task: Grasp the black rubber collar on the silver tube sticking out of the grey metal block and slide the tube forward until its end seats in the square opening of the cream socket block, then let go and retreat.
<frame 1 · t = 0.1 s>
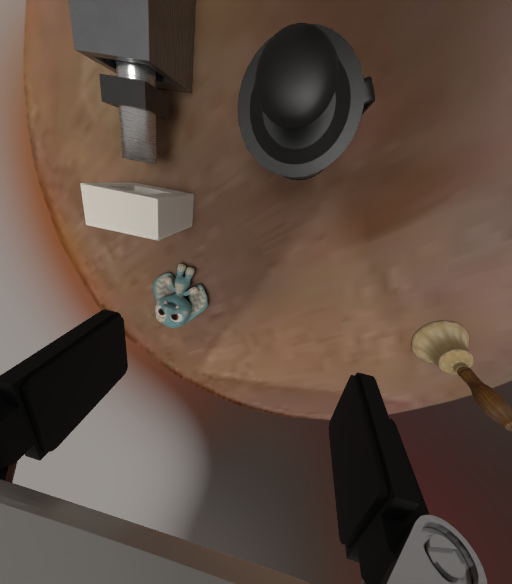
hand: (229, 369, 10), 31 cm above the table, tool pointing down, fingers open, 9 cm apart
stuffed animal: (184, 291, 46), on the table
grey metal block: (163, 44, 31), on the table
socket: (163, 204, 40), on the table
hand bell: (438, 341, 41), on the table
french press: (304, 139, 33), on the table
rod: (136, 65, 27), point 6 cm above the table, slide at 0.0 cm
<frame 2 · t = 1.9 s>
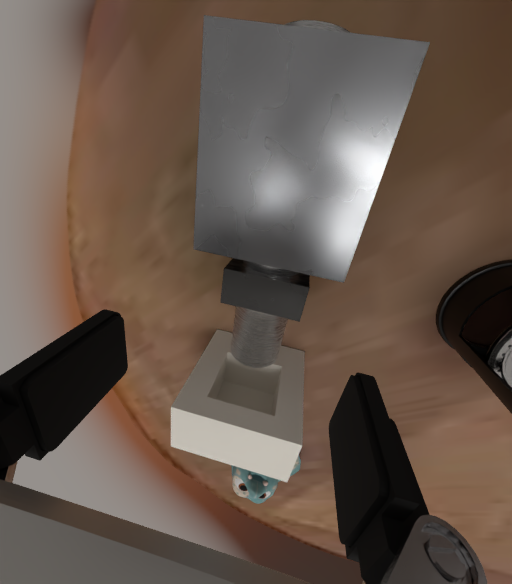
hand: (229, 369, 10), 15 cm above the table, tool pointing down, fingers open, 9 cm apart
stuffed animal: (265, 440, 35), on the table
grey metal block: (295, 171, 20), on the table
socket: (256, 357, 28), on the table
french press: (504, 308, 21), on the table
rod: (277, 238, 16), point 6 cm above the table, slide at 0.0 cm
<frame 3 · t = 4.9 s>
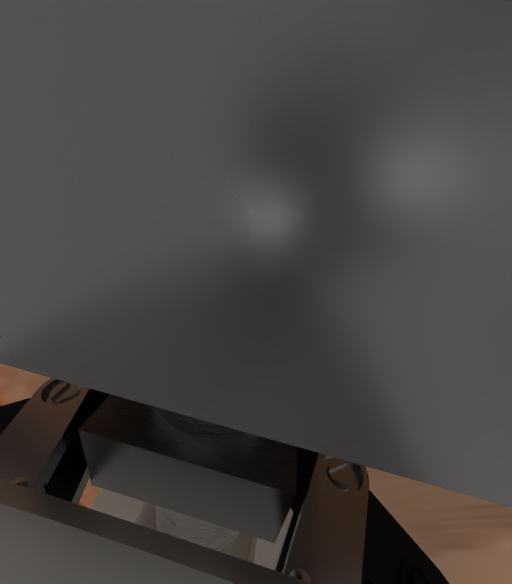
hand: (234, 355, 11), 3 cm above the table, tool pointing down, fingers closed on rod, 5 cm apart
grey metal block: (285, 118, 10), on the table
socket: (229, 431, 18), on the table
rod: (224, 331, 7), point 6 cm above the table, slide at 2.3 cm, touching gripper
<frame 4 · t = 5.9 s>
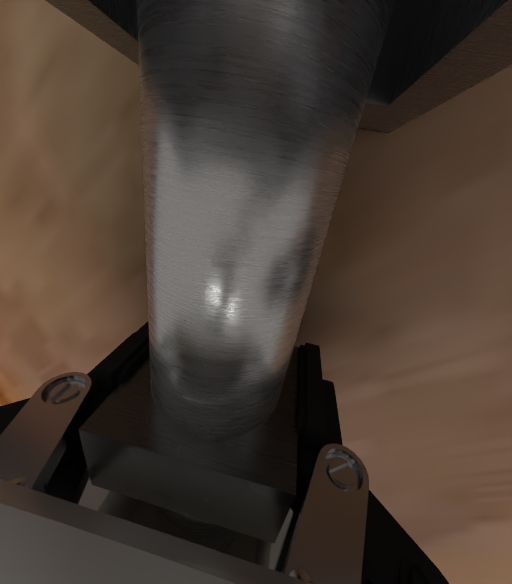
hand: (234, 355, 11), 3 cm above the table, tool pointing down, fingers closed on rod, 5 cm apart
socket: (237, 387, 16), on the table
rod: (224, 332, 7), point 6 cm above the table, slide at 6.9 cm, touching gripper
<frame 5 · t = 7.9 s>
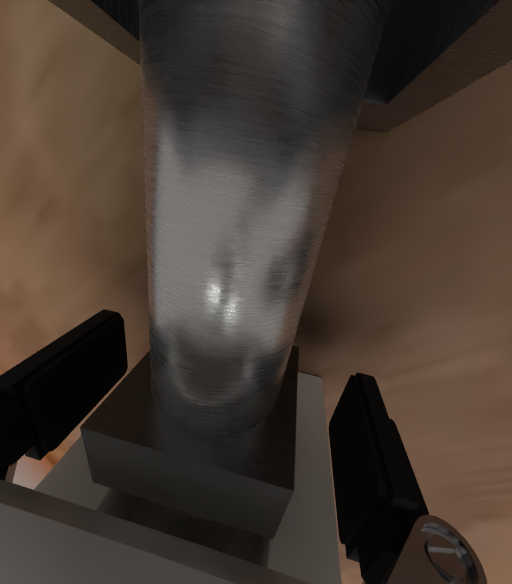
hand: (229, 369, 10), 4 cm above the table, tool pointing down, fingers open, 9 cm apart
socket: (236, 386, 16), on the table
rod: (223, 331, 7), point 6 cm above the table, slide at 7.0 cm
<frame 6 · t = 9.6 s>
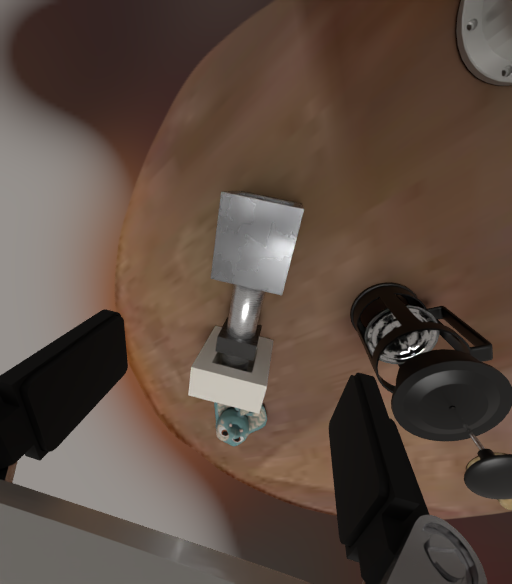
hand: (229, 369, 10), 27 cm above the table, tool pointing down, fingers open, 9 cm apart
stuffed animal: (242, 403, 48), on the table
grey metal block: (264, 231, 34), on the table
socket: (241, 344, 42), on the table
hand bell: (491, 467, 44), on the table
french press: (387, 311, 36), on the table
rod: (243, 319, 33), point 6 cm above the table, slide at 7.0 cm
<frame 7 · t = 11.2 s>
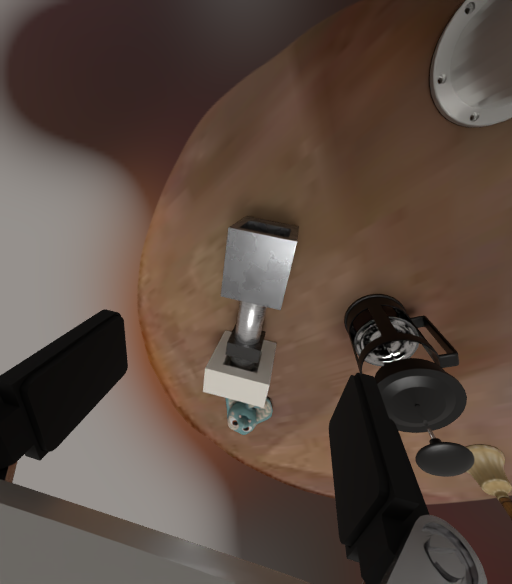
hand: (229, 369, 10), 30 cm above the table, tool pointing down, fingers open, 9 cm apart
stuffed animal: (250, 397, 53), on the table
grey metal block: (267, 250, 39), on the table
socket: (248, 346, 47), on the table
hand bell: (477, 457, 49), on the table
french press: (377, 318, 40), on the table
rod: (249, 327, 38), point 6 cm above the table, slide at 7.0 cm
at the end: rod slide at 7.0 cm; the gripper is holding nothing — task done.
